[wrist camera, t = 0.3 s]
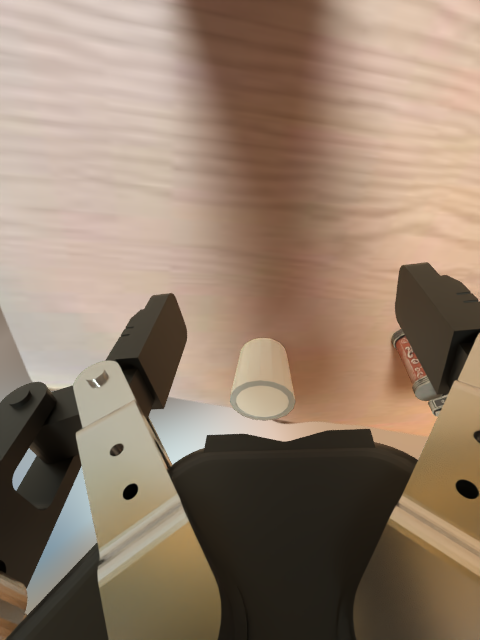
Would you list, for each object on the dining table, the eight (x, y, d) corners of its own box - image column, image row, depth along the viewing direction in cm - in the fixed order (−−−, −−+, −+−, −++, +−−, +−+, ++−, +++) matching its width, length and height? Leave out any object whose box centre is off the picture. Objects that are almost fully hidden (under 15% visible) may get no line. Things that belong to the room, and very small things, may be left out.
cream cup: (243, 327, 36) (239, 374, 30) (300, 342, 36) (305, 390, 31) (229, 366, 40) (223, 413, 35) (280, 378, 41) (281, 426, 35)
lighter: (466, 299, 31) (531, 377, 23) (475, 321, 33) (538, 400, 25) (386, 333, 35) (419, 410, 27) (397, 351, 36) (432, 429, 28)
